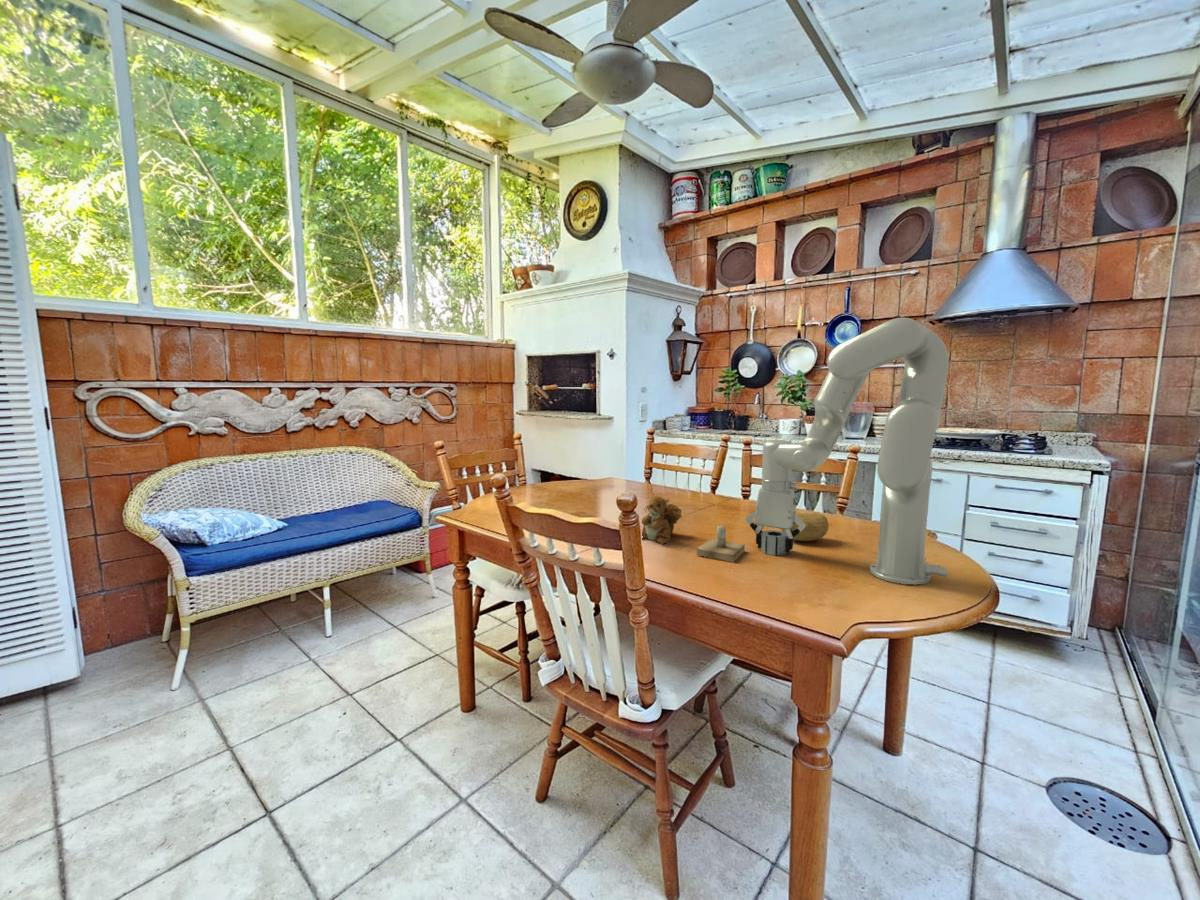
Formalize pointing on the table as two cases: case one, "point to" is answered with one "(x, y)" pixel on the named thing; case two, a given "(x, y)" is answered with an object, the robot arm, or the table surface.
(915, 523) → the robot arm
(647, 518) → the stuffed squirrel
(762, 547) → the hub
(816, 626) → the table surface
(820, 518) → the potato
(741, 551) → the shaft stand
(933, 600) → the table surface
